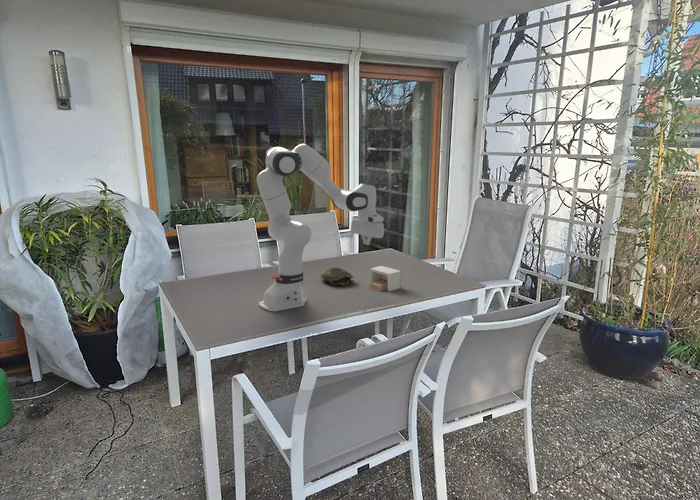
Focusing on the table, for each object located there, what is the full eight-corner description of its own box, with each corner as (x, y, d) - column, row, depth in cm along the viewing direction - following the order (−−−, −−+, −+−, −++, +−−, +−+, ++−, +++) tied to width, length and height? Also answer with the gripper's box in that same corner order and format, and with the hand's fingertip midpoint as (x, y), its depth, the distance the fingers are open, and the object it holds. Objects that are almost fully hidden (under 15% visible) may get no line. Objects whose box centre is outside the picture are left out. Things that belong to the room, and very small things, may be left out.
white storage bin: (389, 291, 224) (389, 273, 222) (370, 285, 234) (370, 268, 232) (400, 287, 230) (400, 270, 228) (381, 282, 240) (381, 265, 238)
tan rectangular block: (379, 292, 225) (379, 286, 224) (370, 289, 229) (370, 283, 229) (391, 288, 231) (391, 282, 230) (382, 285, 235) (382, 280, 235)
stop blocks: (393, 288, 229) (393, 283, 229) (379, 284, 237) (380, 279, 236) (396, 287, 231) (396, 283, 230) (382, 283, 238) (382, 279, 237)
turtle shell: (340, 265, 254) (358, 266, 236) (342, 280, 254) (359, 283, 236) (315, 268, 246) (331, 269, 228) (316, 284, 246) (332, 287, 229)
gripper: (348, 215, 221) (347, 242, 224) (376, 219, 206) (376, 248, 209) (357, 213, 225) (357, 240, 228) (386, 218, 210) (385, 246, 213)
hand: (366, 244), depth 219 cm, fingers closed
